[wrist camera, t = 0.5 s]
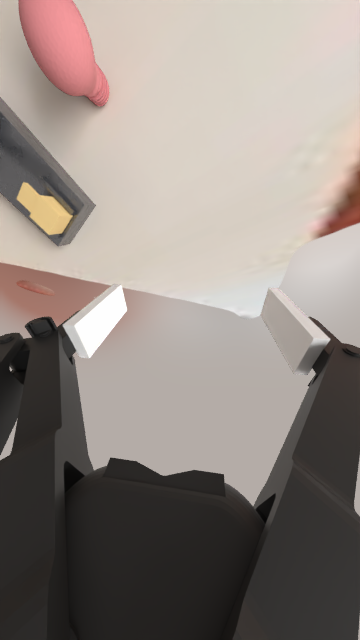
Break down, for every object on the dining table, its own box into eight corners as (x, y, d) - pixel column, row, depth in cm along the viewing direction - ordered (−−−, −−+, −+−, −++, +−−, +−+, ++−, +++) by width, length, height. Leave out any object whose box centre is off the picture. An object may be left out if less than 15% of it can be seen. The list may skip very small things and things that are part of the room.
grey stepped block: (-62, 116, 30) (-126, 92, 24) (-54, 36, 25) (-131, -18, 19) (69, 243, 40) (47, 248, 34) (95, 205, 35) (74, 203, 29)
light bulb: (68, 68, 25) (-20, -28, 15) (105, 39, 23) (34, -90, 13) (93, 131, 29) (35, 87, 19) (127, 111, 27) (84, 50, 17)
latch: (31, 203, 32) (13, 201, 29) (40, 182, 30) (22, 178, 27) (62, 233, 35) (48, 235, 32) (73, 215, 33) (60, 215, 30)
